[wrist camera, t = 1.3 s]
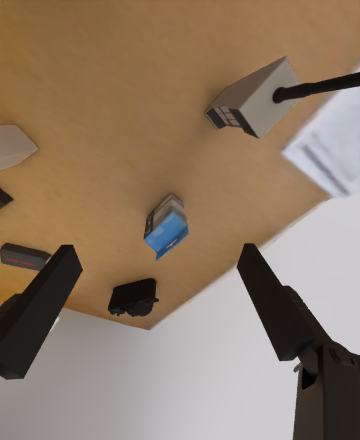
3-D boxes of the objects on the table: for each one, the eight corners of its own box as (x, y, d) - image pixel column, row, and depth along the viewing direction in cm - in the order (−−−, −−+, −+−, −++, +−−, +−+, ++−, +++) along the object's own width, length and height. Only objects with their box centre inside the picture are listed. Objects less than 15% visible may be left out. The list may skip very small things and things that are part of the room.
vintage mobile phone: (203, 113, 29) (302, 99, 8) (225, 87, 27) (431, -23, 6) (217, 129, 30) (331, 156, 9) (238, 105, 29) (441, 71, 7)
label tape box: (171, 191, 36) (172, 221, 26) (184, 202, 38) (190, 234, 27) (146, 217, 39) (138, 253, 29) (159, 226, 41) (156, 263, 30)
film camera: (124, 303, 57) (117, 331, 49) (110, 286, 52) (100, 315, 44) (165, 293, 55) (165, 321, 48) (155, 275, 50) (153, 303, 43)
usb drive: (5, 242, 41) (-4, 250, 38) (59, 255, 44) (53, 262, 41) (7, 257, 43) (-2, 265, 41) (58, 268, 46) (52, 275, 44)
